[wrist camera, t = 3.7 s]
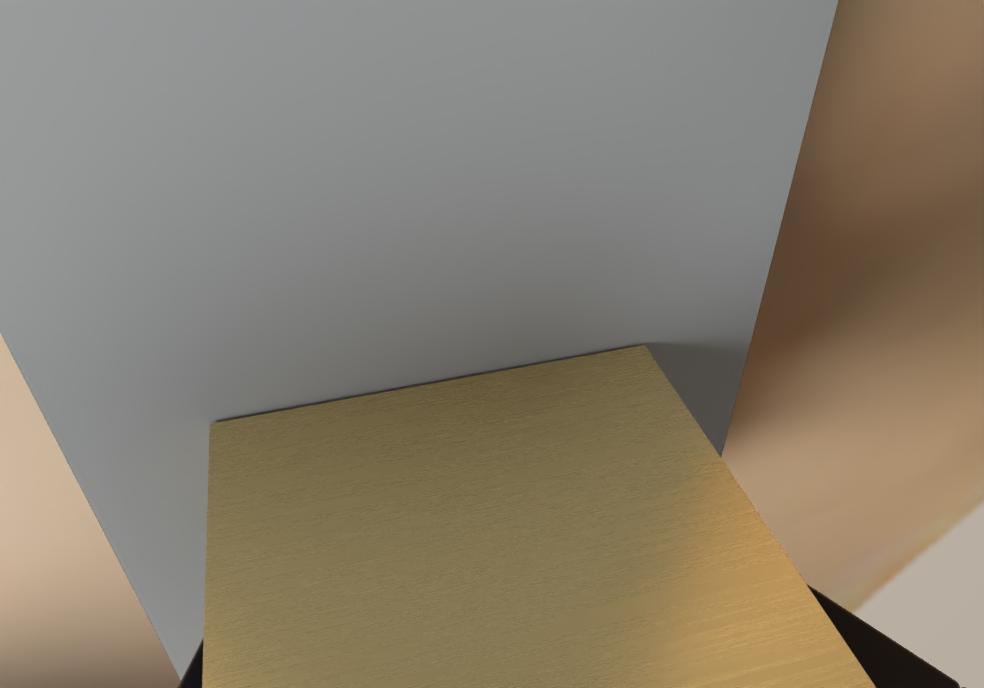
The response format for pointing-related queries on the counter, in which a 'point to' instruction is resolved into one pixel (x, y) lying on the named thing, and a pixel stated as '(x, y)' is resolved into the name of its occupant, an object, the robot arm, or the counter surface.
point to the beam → (371, 216)
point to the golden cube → (500, 544)
